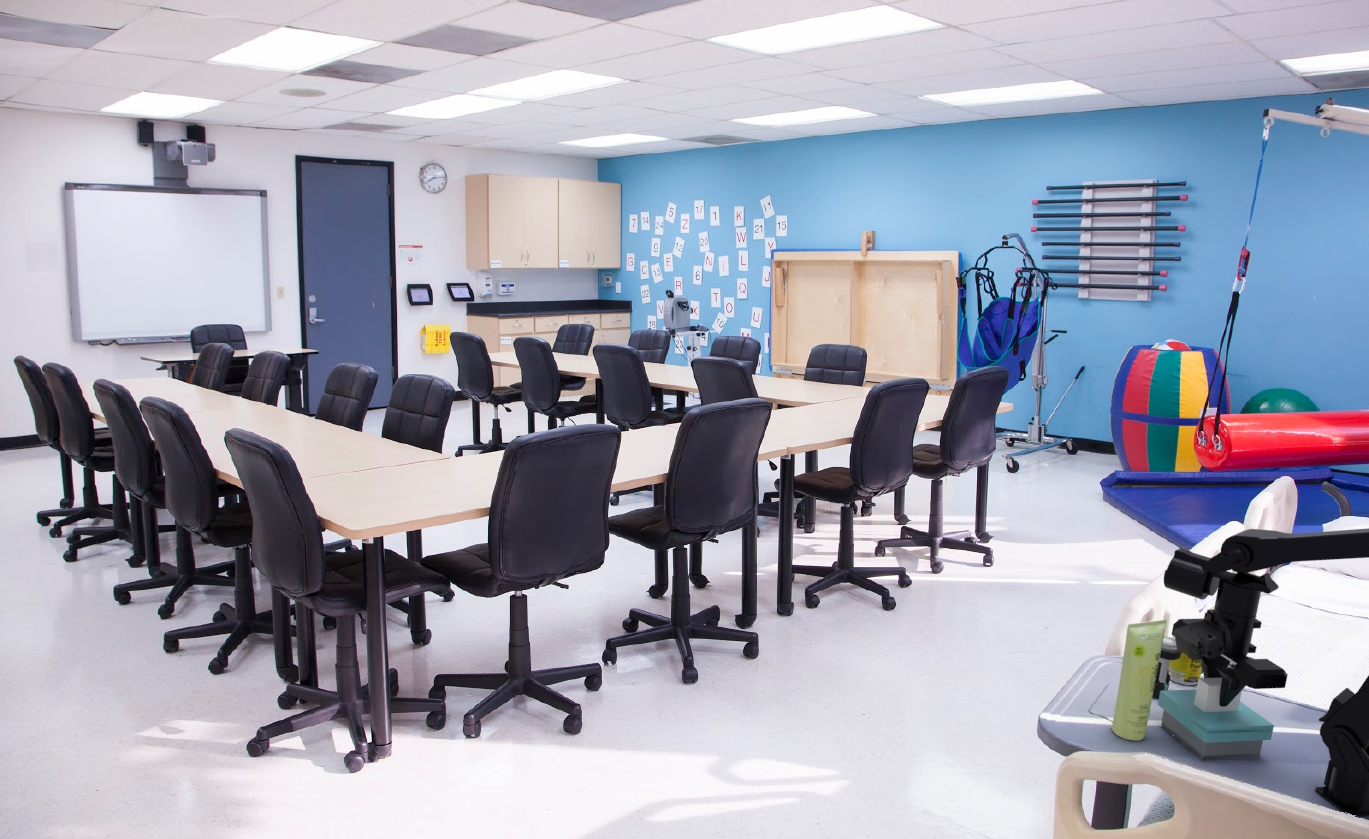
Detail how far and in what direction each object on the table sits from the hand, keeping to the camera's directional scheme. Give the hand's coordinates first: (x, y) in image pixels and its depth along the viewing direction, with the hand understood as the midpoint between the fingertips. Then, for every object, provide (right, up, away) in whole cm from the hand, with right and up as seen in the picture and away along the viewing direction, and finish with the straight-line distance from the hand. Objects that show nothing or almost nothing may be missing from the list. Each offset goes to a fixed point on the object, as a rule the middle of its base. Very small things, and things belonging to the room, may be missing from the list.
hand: (1216, 701), depth 155 cm
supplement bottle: (+6, -3, +23) cm, 24 cm away
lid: (0, -3, +1) cm, 4 cm away
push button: (-1, -3, +17) cm, 18 cm away
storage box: (0, -7, +2) cm, 7 cm away
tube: (-13, -6, +3) cm, 15 cm away
